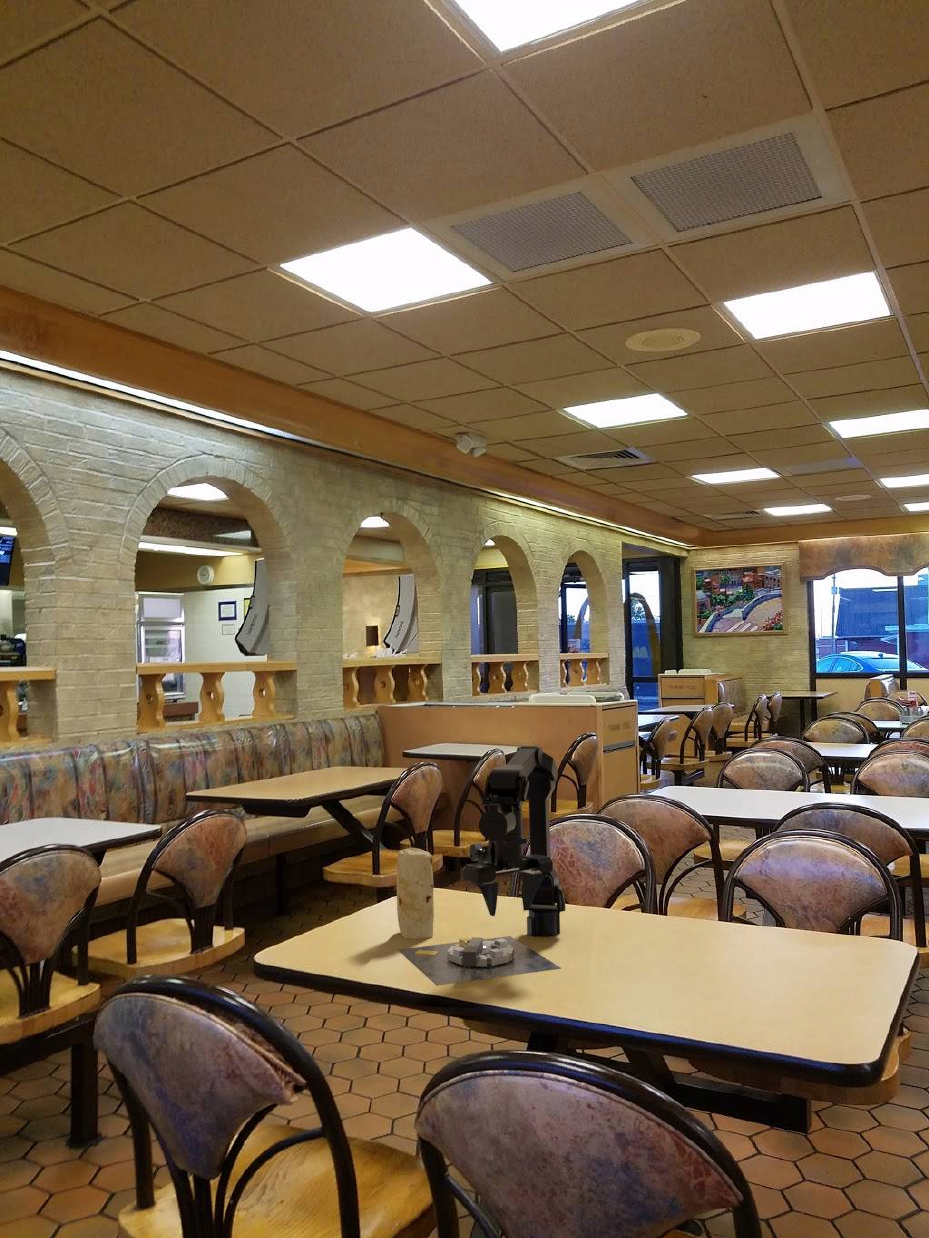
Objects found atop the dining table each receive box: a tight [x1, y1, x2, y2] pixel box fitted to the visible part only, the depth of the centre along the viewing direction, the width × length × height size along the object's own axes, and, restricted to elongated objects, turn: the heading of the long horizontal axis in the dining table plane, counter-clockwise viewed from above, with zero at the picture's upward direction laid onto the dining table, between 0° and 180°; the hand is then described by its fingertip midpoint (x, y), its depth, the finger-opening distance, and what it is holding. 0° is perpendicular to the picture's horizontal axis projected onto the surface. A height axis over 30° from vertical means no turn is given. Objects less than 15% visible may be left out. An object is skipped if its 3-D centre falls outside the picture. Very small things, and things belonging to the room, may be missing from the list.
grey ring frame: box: [447, 936, 514, 966], centre depth 196 cm, size 21×13×5 cm, turn 170°
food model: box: [396, 847, 435, 940], centre depth 220 cm, size 10×7×20 cm
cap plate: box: [397, 935, 562, 986], centre depth 200 cm, size 26×26×3 cm
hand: (509, 912), depth 192 cm, fingers open, 8 cm apart
